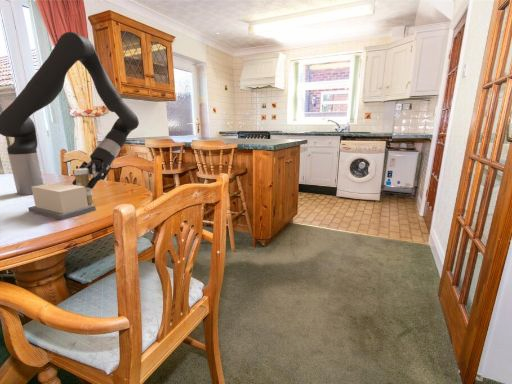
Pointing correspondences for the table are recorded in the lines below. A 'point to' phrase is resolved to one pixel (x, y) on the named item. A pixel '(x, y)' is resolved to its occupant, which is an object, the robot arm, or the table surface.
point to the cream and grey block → (60, 200)
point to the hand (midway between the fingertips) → (81, 186)
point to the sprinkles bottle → (83, 182)
